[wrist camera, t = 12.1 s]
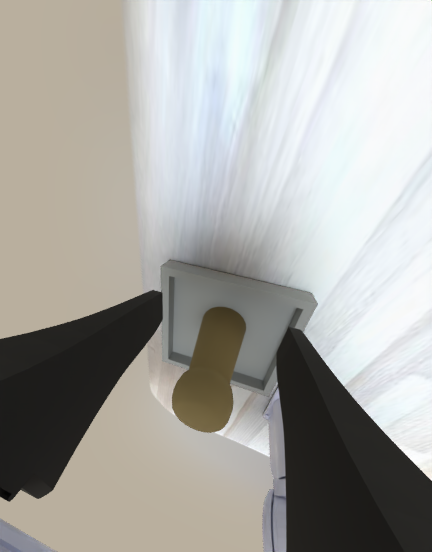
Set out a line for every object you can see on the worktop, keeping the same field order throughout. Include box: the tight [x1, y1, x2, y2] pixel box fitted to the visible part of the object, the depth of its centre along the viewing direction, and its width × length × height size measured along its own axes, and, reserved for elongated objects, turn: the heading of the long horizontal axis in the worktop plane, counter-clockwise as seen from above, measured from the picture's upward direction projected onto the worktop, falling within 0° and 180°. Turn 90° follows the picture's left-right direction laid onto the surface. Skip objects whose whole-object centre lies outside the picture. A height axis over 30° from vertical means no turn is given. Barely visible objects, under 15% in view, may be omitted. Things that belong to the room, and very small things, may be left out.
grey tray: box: [161, 260, 318, 397], centre depth 22 cm, size 17×17×2 cm
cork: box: [172, 307, 246, 433], centre depth 17 cm, size 6×6×11 cm
